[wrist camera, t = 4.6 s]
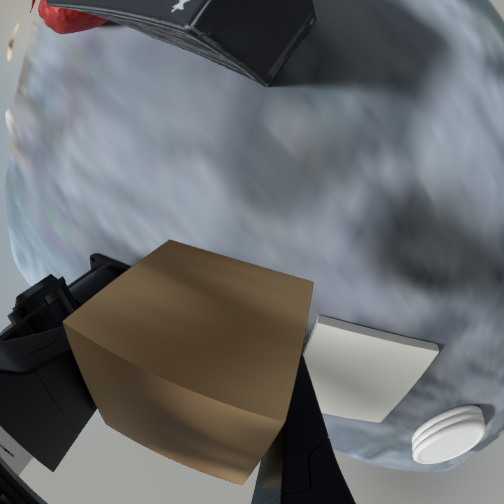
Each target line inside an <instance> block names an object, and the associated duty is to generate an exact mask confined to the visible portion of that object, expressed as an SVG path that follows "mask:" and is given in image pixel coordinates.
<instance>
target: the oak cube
mask: <svg viewBox="0 0 504 504" xmlns="http://www.w3.org/2000/svg"><path fill="white" fill-rule="evenodd" d="M313 285H314V282H312V281H309V280H305V279H302V278H298V277H295V276H291V275H288V274H284V273H281V272H277V271H274V270H271V269H267V268H264V267H260V266H257V265H253V264H250V263H247V262H243V261H240V260H236V259H233V258H230V257H226V256H223V255H219V254H216V253H213V252H209V251H206V250H203V249H199V248H196V247H193V246H189V245H186V244H183V243H179V242H176V241H173V240H168V241H167V242H165V243H164V244H163V245H161V246H160V247H158V248H157V249H156V250H154V251H153V252H151V253H150V254H149V255H147V256H146V257H145V258H143V259H142V260H140V261H139V262H138V263H136V264H135V265H134V266H132V267H131V268H130V269H128V270H127V271H126V272H124V273H123V274H122V275H120V276H119V277H118V278H116V279H115V280H114V281H113V282H111V283H110V284H109V285H107V286H106V287H105V288H103V289H102V290H101V291H100V292H98V293H97V294H96V295H95V296H93V297H92V298H91V299H90V300H88V301H87V302H86V303H85V304H83V305H82V306H81V307H80V308H78V309H77V310H76V311H75V312H73V313H72V314H71V315H70V316H69V317H67V318H66V319H65V320H64V321H63V325H64V328H65V331H66V334H67V337H68V340H69V343H70V346H71V348H72V351H73V354H74V356H75V359H76V361H77V364H78V366H79V369H80V371H81V374H82V376H83V378H84V381H85V383H86V385H87V387H88V390H89V392H90V394H91V396H92V398H93V400H94V402H95V404H96V406H97V408H98V410H99V412H100V414H101V416H102V418H103V420H104V422H105V423H106V425H108V426H110V427H111V428H113V429H115V430H116V431H118V432H120V433H121V434H123V435H125V436H126V437H128V438H130V439H132V440H134V441H135V442H137V443H139V444H141V445H143V446H145V447H147V448H149V449H151V450H153V451H155V452H157V453H159V454H161V455H163V456H165V457H167V458H169V459H172V460H174V461H176V462H178V463H181V464H183V465H185V466H188V467H190V468H193V469H196V470H198V471H200V472H203V473H206V474H209V475H211V476H215V477H217V478H220V479H223V480H226V481H229V482H232V483H236V484H239V485H243V484H244V483H245V481H246V480H247V479H248V477H249V476H250V475H251V473H252V472H253V470H254V469H255V467H256V466H257V465H258V463H259V462H260V460H261V459H262V457H263V456H264V454H265V453H266V451H267V450H268V448H269V447H270V445H271V444H272V442H273V441H274V439H275V437H276V436H277V434H278V433H279V431H280V429H281V428H282V426H283V425H284V423H285V420H286V416H287V412H288V408H289V404H290V400H291V396H292V392H293V388H294V383H295V379H296V374H297V370H298V365H299V360H300V356H301V351H302V346H303V341H304V336H305V331H306V325H307V320H308V314H309V309H310V303H311V297H312V291H313Z"/></svg>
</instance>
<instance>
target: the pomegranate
mask: <svg viewBox="0 0 504 504" xmlns="http://www.w3.org/2000/svg"><path fill="white" fill-rule="evenodd" d="M34 3H35V0H33V1H32V8H33V5H34ZM46 3H47V0H41V1H40V4H39V7H38V12H39V15H40V17H41V18H43V19H44V21H45V24H46V25H47V26H48V27H49V28H51V29H52V30H53V31H55V32H56V33H59V34H67V33H74V32H80V31H85V30H89V29H92V28H95V27H98V26H100V25H102V24H104V23H106V22H108V21H109V20H108V19H105V18H102V17H98V16H96V15H92V14H88V13H85V12H81V11H76V10H72V9H66V8H61V7H52V6H48V5H47V4H46ZM32 8H31V9H32ZM30 12H31V11H30Z"/></svg>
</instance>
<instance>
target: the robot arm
mask: <svg viewBox="0 0 504 504" xmlns="http://www.w3.org/2000/svg"><path fill="white" fill-rule="evenodd" d="M90 263H91V270H90V271H88V272H87V273H86V274H84V275H83V276H81V277H80V278H78V279H77V280H75V281H74V282H73V283H71V284H70V285H68V286H67V285H66V283H65V282H66V281H65V279H64V277H63V276H62V277H61V278H59V279H57V278H56V277H54V276H53V275H52V274H50V275H49V276H47V277H46V278H44V279H43V280H41V281H40V282H38V283H37V284H35V285H33V286H32V287H30V288H29V289H27V290H26V291H25V292H23V293H22V294H20V295H19V296H17V297H16V304H15V307H14V308H13V312H12V313H10V314H9V315H8V318H9V320H10V321H11V324H10V325H9V326H7V327H6V328H5V329H4V330H3V331H2V332H1V333H0V504H47V503H46V502H45V501H44V500H43V499H42V498H41V497H39V496H38V495H37V494H36V493H35V492H34V491H33V490H32V489H31V488H30V487H29V486H28V485H27V484H26V483H25V482H24V481H23V480H22V479H21V478H20V477H19V475H20V473H21V472H22V471H23V469H24V468H25V467H26V465H27V464H28V463H29V462H30V460H31V459H32V458H33V457H34V458H36V459H37V460H38V461H39V462H40V463H42V464H43V465H44V466H46V467H47V468H48V469H49V470H51V471H52V472H54V471H55V469H56V468H57V466H58V465H59V463H60V462H61V460H62V459H63V457H64V456H65V455H66V453H67V451H68V450H69V449H70V447H71V446H72V444H73V443H74V441H75V440H76V438H77V437H78V434H80V432H81V431H82V429H83V428H84V427H85V425H86V424H87V422H88V421H89V419H90V418H91V417H92V415H93V414H94V412H95V411H96V409H97V406H96V404H95V402H94V400H93V398H92V396H91V394H90V392H89V390H88V387H87V385H86V383H85V381H84V378H83V376H82V374H81V371H80V369H79V366H78V364H77V361H76V359H75V356H74V354H73V351H72V348H71V346H70V343H69V340H68V337H67V334H66V331H65V328H64V325H63V321H64V320H65V319H66V318H67V317H69V316H70V315H71V314H72V313H73V312H75V311H76V310H77V309H78V308H80V307H81V306H82V305H83V304H85V303H86V302H87V301H88V300H90V299H91V298H92V297H93V296H95V295H96V294H97V293H98V292H100V291H101V290H102V289H103V288H105V287H106V286H107V285H109V284H110V283H111V282H113V281H114V280H115V279H116V278H118V277H119V276H120V275H122V274H123V273H124V272H126V271H127V270H128V269H130V267H127V266H124V265H122V264H119V263H117V262H114V261H112V260H109V259H107V258H105V257H102V256H100V255H97V254H92V255H91V256H90ZM251 504H356V503H355V501H354V499H353V497H352V494H351V492H350V490H349V488H348V486H347V483H346V481H345V479H344V477H343V475H342V472H341V470H340V468H339V465H338V463H337V460H336V458H335V455H334V452H333V449H332V445H331V442H330V439H329V438H328V432H327V429H326V426H325V423H324V419H323V416H322V413H321V410H320V406H319V403H318V400H317V397H316V393H315V390H314V387H313V384H312V381H311V378H310V374H309V371H308V368H307V365H306V362H305V359H304V356H303V355H302V354H301V356H300V360H299V365H298V370H297V374H296V379H295V383H294V388H293V392H292V396H291V400H290V404H289V408H288V412H287V416H286V420H285V423H284V425H283V426H282V428H281V429H280V431H279V433H278V434H277V436H276V437H275V439H274V441H273V442H272V444H271V445H270V447H269V448H268V450H267V451H266V453H265V454H264V456H263V457H262V459H261V463H260V467H259V472H258V477H257V481H256V485H255V489H254V494H253V498H252V502H251Z"/></svg>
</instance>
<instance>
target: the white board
mask: <svg viewBox="0 0 504 504" xmlns="http://www.w3.org/2000/svg"><path fill="white" fill-rule="evenodd" d="M438 353H439V349H438V346H437V344H435V343H430V342H426V341H421V340H417V339H412V338H408V337H404V336H399V335H395V334H391V333H387V332H383V331H379V330H375V329H371V328H367V327H363V326H359V325H355V324H351V323H347V322H344V321H340V320H336V319H332V318H329V317H325V316H321V315H318V318H317V320H316V323H315V325H314V328H313V330H312V332H311V335H310V337H309V340H308V342H307V344H306V347H305V349H304V351H303V354H302V355H303V356H304V359H305V362H306V365H307V368H308V371H309V374H310V378H311V381H312V384H313V387H314V390H315V393H316V397H317V400H318V403H319V406H320V410H321V413H325V414H329V415H335V416H340V417H345V418H351V419H357V420H363V421H370V422H377V423H380V422H381V421H382V420H383V419H384V418H385V417H386V416H387V415H388V414H389V413H390V412H391V411H392V410H393V409H394V408H395V406H396V405H397V404H398V403H399V402H400V401H401V400H402V399H403V397H404V396H405V395H406V394H407V393H408V392H409V391H410V389H411V388H412V387H413V386H414V385H415V383H416V382H417V381H418V380H419V378H420V377H421V376H422V375H423V373H424V372H425V371H426V369H427V368H428V367H429V365H430V364H431V363H432V361H433V360H434V359H435V357H436V356H437V354H438Z"/></svg>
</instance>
